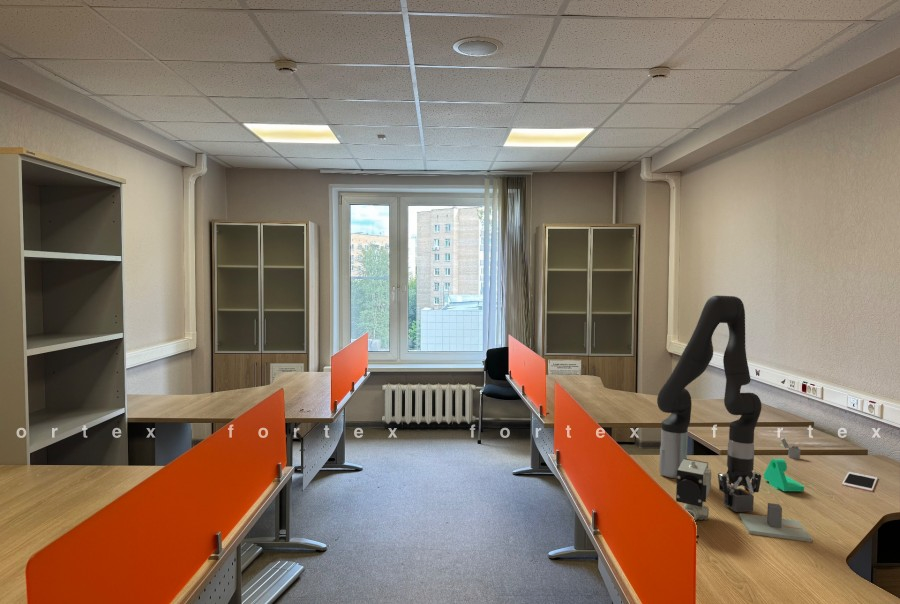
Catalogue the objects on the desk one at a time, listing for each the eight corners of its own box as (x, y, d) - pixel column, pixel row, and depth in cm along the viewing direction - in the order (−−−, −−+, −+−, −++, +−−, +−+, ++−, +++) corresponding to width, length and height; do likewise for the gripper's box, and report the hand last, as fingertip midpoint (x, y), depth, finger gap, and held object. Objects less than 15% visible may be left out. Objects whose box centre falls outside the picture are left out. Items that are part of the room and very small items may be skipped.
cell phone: (877, 479, 201) (877, 477, 201) (872, 493, 188) (872, 490, 188) (848, 473, 207) (848, 471, 207) (841, 486, 194) (841, 483, 194)
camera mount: (805, 494, 186) (806, 465, 185) (783, 494, 186) (784, 465, 185) (783, 481, 198) (784, 454, 197) (763, 481, 198) (764, 453, 197)
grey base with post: (749, 533, 155) (750, 510, 155) (739, 516, 167) (740, 494, 167) (812, 542, 151) (813, 517, 151) (797, 523, 162) (798, 501, 162)
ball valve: (705, 532, 156) (707, 472, 155) (674, 525, 160) (675, 467, 160) (712, 510, 171) (713, 456, 170) (683, 504, 176) (685, 451, 175)
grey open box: (735, 512, 169) (736, 495, 168) (723, 503, 175) (724, 487, 174) (753, 511, 170) (753, 494, 169) (740, 503, 175) (740, 487, 175)
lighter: (799, 458, 224) (800, 439, 223) (800, 459, 222) (800, 440, 222) (780, 455, 227) (780, 436, 227) (780, 456, 226) (780, 437, 225)
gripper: (727, 458, 166) (725, 511, 167) (769, 457, 169) (766, 509, 169) (712, 451, 174) (710, 501, 175) (752, 449, 176) (750, 499, 177)
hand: (738, 504), depth 172 cm, fingers closed on grey open box, 6 cm apart
